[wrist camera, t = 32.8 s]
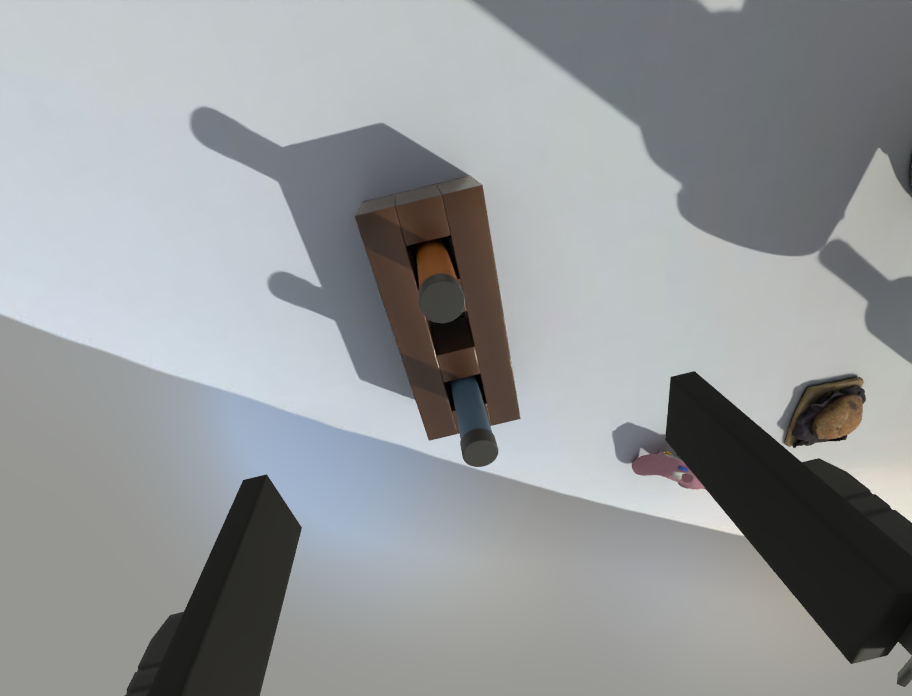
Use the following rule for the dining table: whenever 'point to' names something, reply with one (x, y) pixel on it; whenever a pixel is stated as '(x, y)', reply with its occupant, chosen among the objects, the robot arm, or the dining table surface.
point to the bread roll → (827, 413)
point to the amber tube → (438, 283)
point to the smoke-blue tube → (473, 423)
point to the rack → (483, 331)
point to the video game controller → (666, 469)
